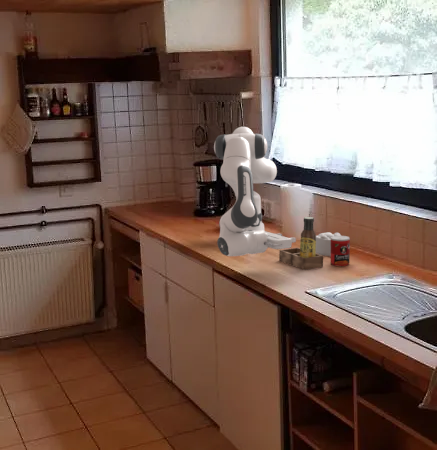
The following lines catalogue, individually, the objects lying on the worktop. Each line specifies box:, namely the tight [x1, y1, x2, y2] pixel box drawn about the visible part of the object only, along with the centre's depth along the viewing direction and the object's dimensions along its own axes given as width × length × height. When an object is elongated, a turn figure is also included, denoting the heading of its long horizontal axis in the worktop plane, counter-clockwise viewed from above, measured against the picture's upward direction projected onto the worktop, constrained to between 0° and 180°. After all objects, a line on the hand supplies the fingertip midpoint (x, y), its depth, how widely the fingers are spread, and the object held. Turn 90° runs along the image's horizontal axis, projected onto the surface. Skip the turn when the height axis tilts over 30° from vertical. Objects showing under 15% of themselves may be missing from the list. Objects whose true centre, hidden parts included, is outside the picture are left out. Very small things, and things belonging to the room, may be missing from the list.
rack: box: [278, 247, 324, 271], centre depth 293 cm, size 18×9×4 cm, turn 28°
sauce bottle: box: [299, 216, 317, 258], centre depth 287 cm, size 6×6×20 cm
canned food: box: [330, 235, 351, 267], centre depth 290 cm, size 8×8×11 cm
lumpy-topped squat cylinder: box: [316, 231, 342, 257], centre depth 310 cm, size 10×13×9 cm
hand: (288, 237), depth 281 cm, fingers open, 8 cm apart
